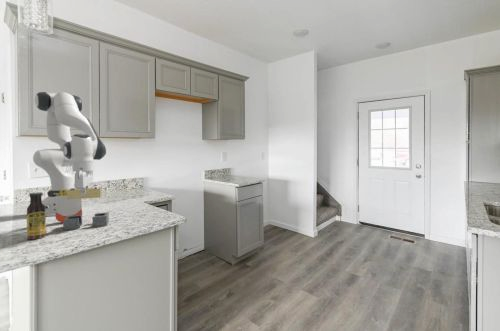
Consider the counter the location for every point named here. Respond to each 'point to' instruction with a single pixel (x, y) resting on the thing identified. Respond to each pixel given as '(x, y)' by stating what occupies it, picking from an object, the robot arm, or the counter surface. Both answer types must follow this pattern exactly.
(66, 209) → the french fries container
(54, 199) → the robot arm
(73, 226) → the chain end left
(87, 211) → the counter surface
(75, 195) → the link
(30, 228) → the sauce bottle
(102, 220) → the chain end right
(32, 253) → the counter surface
